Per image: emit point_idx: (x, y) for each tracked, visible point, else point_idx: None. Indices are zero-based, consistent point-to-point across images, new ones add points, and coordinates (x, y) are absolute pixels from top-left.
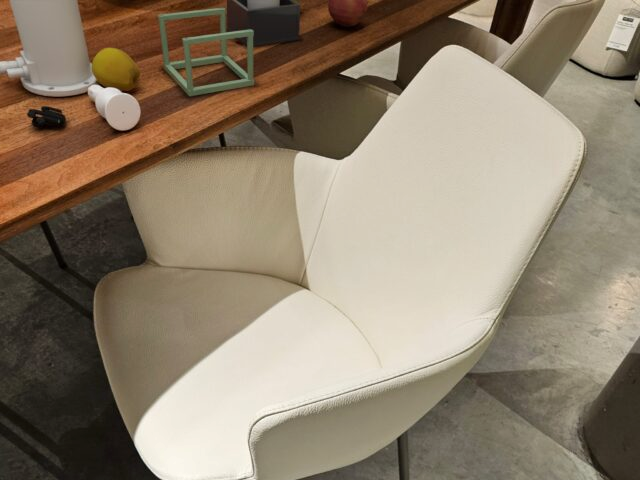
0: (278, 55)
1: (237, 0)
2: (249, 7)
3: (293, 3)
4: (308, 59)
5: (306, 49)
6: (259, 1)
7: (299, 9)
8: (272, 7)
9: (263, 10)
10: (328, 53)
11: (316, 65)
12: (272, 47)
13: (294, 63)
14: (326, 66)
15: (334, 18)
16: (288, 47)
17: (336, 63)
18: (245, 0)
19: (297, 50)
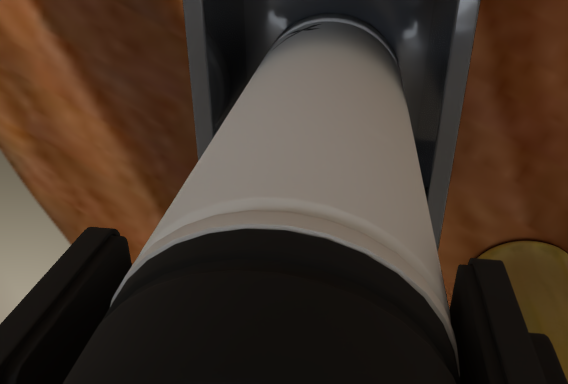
0: (123, 33)
1: (448, 25)
2: (318, 38)
3: None
4: (71, 119)
5: (156, 159)
6: (250, 81)
7: None
8: (200, 119)
9: (189, 62)
10: (109, 205)
11: (19, 116)
12: None
13: (43, 53)
14: (9, 142)
15: None
16: (188, 110)
17: (29, 183)
18: (440, 75)
19: (154, 126)
